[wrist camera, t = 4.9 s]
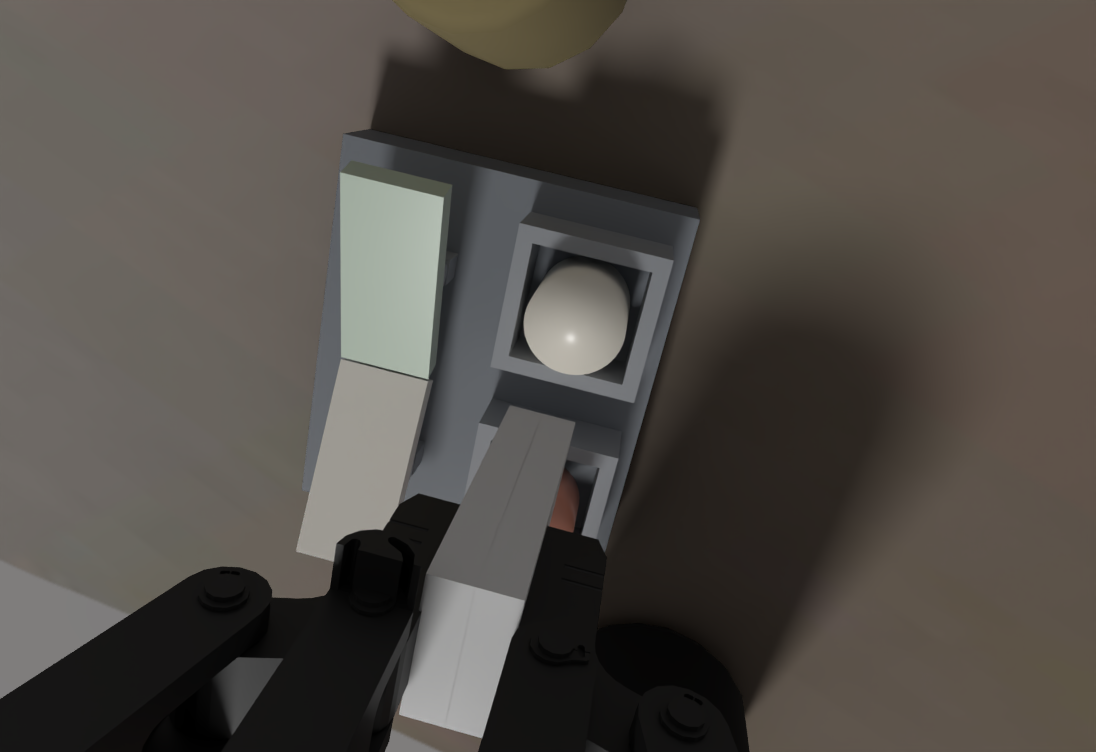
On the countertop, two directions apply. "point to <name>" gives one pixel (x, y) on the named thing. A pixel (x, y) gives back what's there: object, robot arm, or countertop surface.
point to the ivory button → (578, 316)
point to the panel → (521, 316)
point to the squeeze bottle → (517, 27)
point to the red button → (566, 504)
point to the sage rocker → (392, 267)
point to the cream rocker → (363, 454)
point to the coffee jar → (670, 669)
